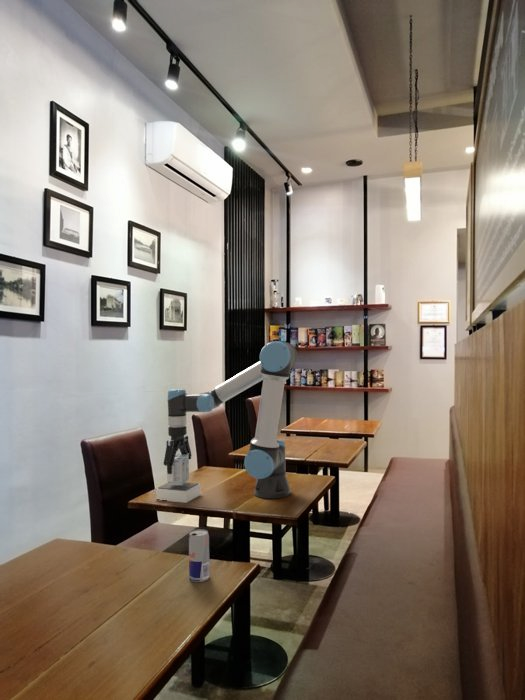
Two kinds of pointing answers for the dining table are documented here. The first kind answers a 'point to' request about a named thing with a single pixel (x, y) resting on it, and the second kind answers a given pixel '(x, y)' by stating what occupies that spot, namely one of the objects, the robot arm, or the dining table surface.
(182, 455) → the light bulb box
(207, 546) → the energy drink
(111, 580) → the dining table surface
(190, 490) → the stand
